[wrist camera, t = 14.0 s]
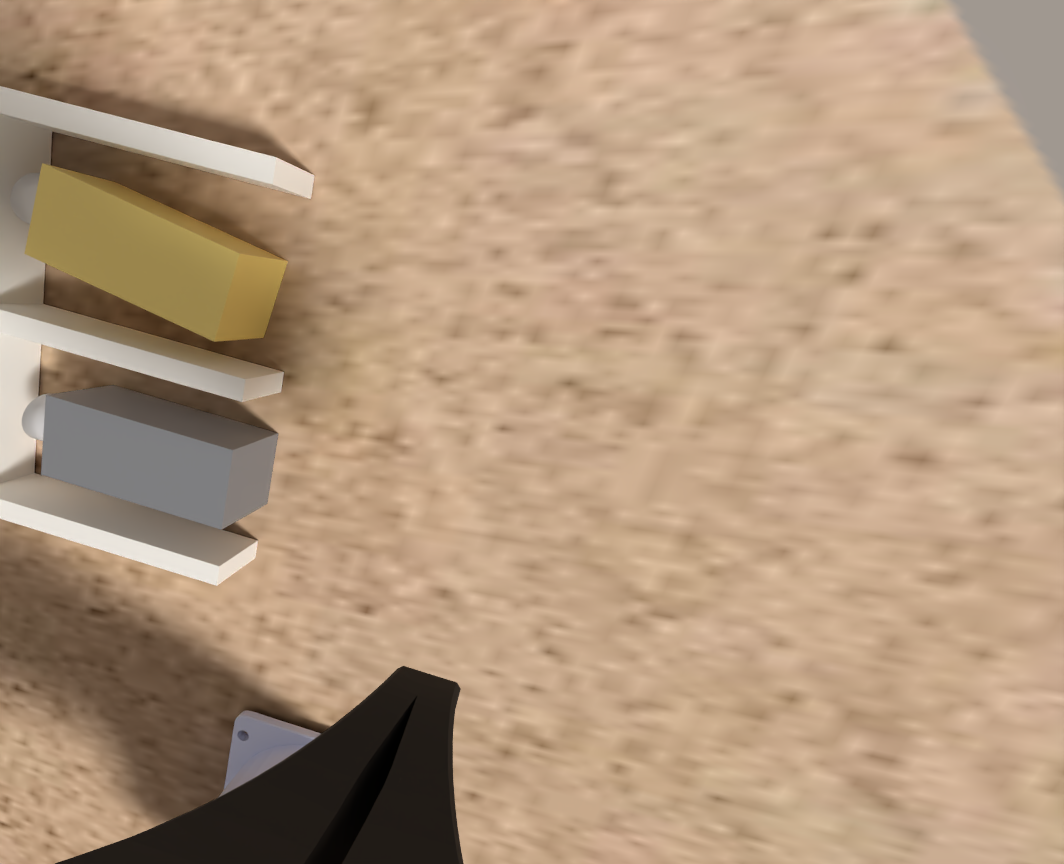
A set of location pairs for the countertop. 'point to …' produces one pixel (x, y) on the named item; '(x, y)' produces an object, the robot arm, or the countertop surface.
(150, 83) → the countertop surface
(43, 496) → the rack
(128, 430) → the charcoal plug
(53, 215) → the mustard plug
